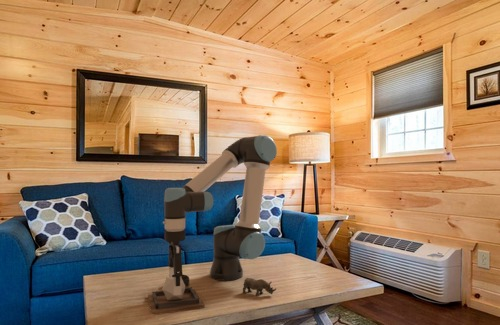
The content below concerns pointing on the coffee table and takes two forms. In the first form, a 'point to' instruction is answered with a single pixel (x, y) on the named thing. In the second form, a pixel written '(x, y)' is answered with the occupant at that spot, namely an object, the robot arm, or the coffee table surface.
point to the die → (169, 289)
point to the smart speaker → (185, 280)
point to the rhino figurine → (257, 286)
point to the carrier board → (174, 302)
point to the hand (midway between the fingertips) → (174, 289)
